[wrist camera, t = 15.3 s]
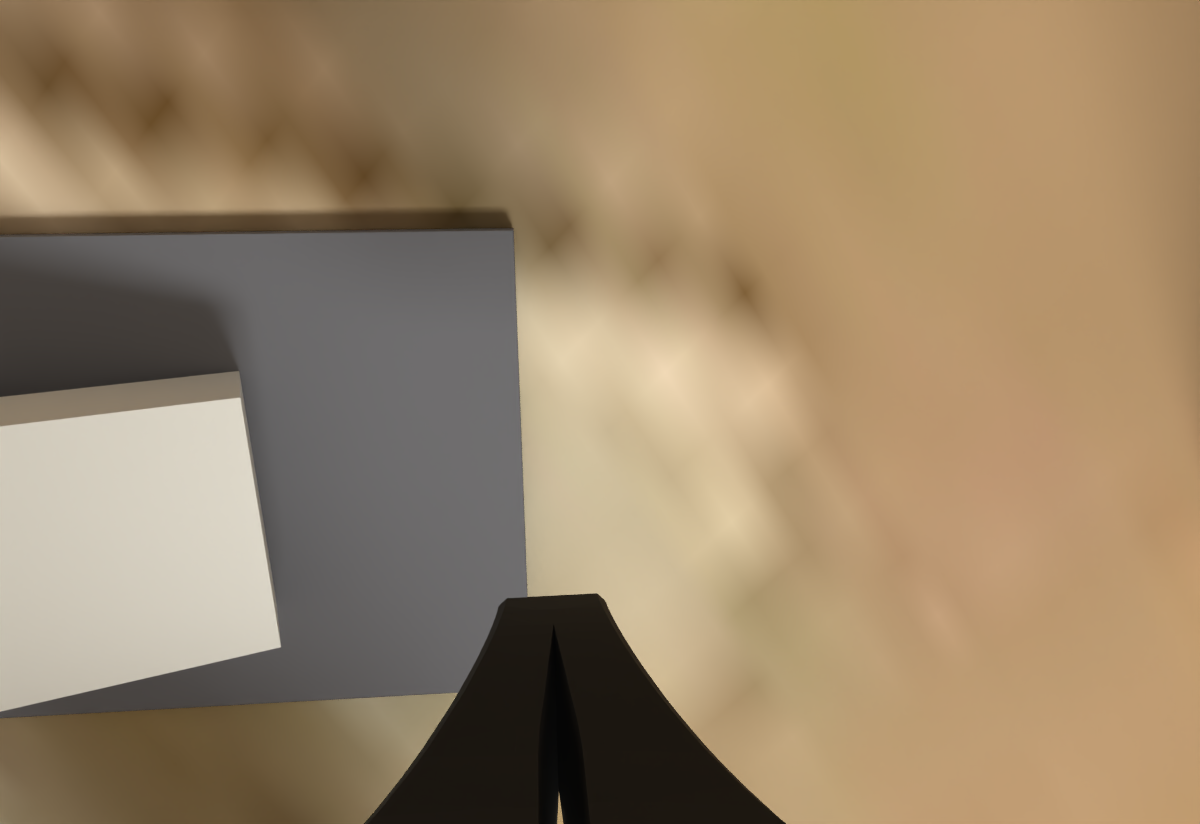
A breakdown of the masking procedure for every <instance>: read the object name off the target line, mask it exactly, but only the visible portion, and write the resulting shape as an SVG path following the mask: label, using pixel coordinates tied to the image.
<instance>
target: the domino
mask: <svg viewBox="0 0 1200 824" xmlns="http://www.w3.org/2000/svg"><path fill="white" fill-rule="evenodd" d="M280 647H281V642H280V632H279V622H278V612H277V603H276V596H275V590H274V584H273V578H272V572H271V565H270V559H269V553H268V547H267V541H266V535H265V528H264V522H263V516H262V510H261V504H260V497H259V491H258V485H257V479H256V473H255V466H254V460H253V454H252V448H251V442H250V435H249V429H248V423H247V417H246V411H245V405H244V398H243V392H242V386H241V380H240V374H239V371H234V372H224V373H215V374H206V375H197V376H188V377H179V378H170V379H160V380H151V381H142V382H133V383H124V384H115V385H106V386H96V387H87V388H78V389H69V390H60V391H51V392H42V393H32V394H23V395H14V396H5V397H0V712H1V711H5V710H10V709H14V708H18V707H23V706H27V705H31V704H36V703H40V702H44V701H49V700H53V699H58V698H62V697H66V696H71V695H75V694H79V693H84V692H88V691H92V690H97V689H101V688H105V687H110V686H114V685H118V684H123V683H127V682H132V681H136V680H140V679H145V678H149V677H153V676H158V675H162V674H166V673H171V672H175V671H179V670H184V669H188V668H193V667H197V666H201V665H206V664H210V663H214V662H219V661H223V660H227V659H232V658H236V657H240V656H245V655H249V654H253V653H258V652H262V651H267V650H271V649H275V648H280Z"/></svg>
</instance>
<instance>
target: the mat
mask: <svg viewBox="0 0 1200 824" xmlns="http://www.w3.org/2000/svg"><path fill="white" fill-rule="evenodd" d="M234 371H239V374H240V380H241V386H242V392H243V398H244V405H245V411H246V417H247V423H248V429H249V435H250V442H251V448H252V454H253V460H254V466H255V473H256V479H257V485H258V491H259V497H260V504H261V510H262V516H263V522H264V528H265V535H266V541H267V547H268V553H269V559H270V565H271V572H272V578H273V584H274V590H275V596H276V603H277V612H278V622H279V632H280V642H281V647H280V648H275V649H271V650H267V651H262V652H258V653H253V654H249V655H245V656H240V657H236V658H232V659H227V660H223V661H219V662H214V663H210V664H206V665H201V666H197V667H193V668H188V669H184V670H179V671H175V672H171V673H166V674H162V675H158V676H153V677H149V678H145V679H140V680H136V681H132V682H127V683H123V684H118V685H114V686H110V687H105V688H101V689H97V690H92V691H88V692H84V693H79V694H75V695H71V696H66V697H62V698H58V699H53V700H49V701H44V702H40V703H36V704H31V705H27V706H23V707H18V708H14V709H10V710H5V711H1V712H0V718H12V717H30V716H48V715H65V714H83V713H101V712H119V711H137V710H155V709H172V708H190V707H208V706H226V705H244V704H262V703H279V702H297V701H315V700H333V699H351V698H369V697H386V696H404V695H422V694H440V693H458V692H459V691H460V689H461V687H462V685H463V683H464V681H465V680H466V678H467V676H468V674H469V672H470V671H471V669H472V667H473V665H474V663H475V662H476V660H477V658H478V656H479V653H480V651H481V649H482V647H483V645H484V643H485V641H486V639H487V637H488V634H489V632H490V630H491V627H492V625H493V622H494V619H495V617H496V614H497V610H498V607H499V605H500V604H501V603H502V602H503V601H504V600H505V599H507V598H521V597H527V573H526V547H525V521H524V494H523V468H522V442H521V416H520V390H519V363H518V337H517V311H516V285H515V259H514V232H513V228H485V229H407V230H329V231H250V232H172V233H93V234H15V235H0V397H5V396H14V395H23V394H32V393H42V392H51V391H60V390H69V389H78V388H87V387H96V386H106V385H115V384H124V383H133V382H142V381H151V380H160V379H170V378H179V377H188V376H197V375H206V374H215V373H224V372H234Z"/></svg>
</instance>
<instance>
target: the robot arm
mask: <svg viewBox="0 0 1200 824" xmlns="http://www.w3.org/2000/svg"><path fill="white" fill-rule="evenodd" d="M559 794H560V802H561V809H562V816H563V823H564V824H786V823H785V822H783V821H782V820H781V819H780V818H779V817H777V816H776V815H775V814H774V813H773V812H772V811H771V810H770V809H769V808H768V807H767V806H765V805H764V804H763V803H762V802H761V801H760V800H759V799H758V798H757V797H756V796H755V795H754V794H752V793H751V792H750V791H749V790H748V789H747V788H746V787H745V786H744V785H743V784H742V783H741V782H740V781H739V780H738V779H737V778H736V777H735V776H734V775H733V774H732V773H731V772H730V771H729V770H728V769H727V768H726V767H725V766H724V765H723V764H722V763H721V762H720V761H719V760H718V759H717V758H716V757H715V756H714V754H713V753H712V752H711V751H710V750H709V749H708V748H707V747H706V746H705V745H704V743H703V742H702V741H701V740H700V739H699V738H698V737H697V736H696V734H695V733H694V732H693V731H692V730H691V728H690V727H689V726H688V725H687V724H686V722H685V721H684V720H683V719H682V718H681V716H680V715H679V714H678V713H677V712H676V710H675V709H674V708H673V707H672V705H671V704H670V703H669V701H668V700H667V699H666V698H665V696H664V695H663V694H662V692H661V691H660V690H659V688H658V687H657V685H656V684H655V683H654V681H653V680H652V678H651V677H650V676H649V674H648V673H647V672H646V670H645V669H644V667H643V666H642V665H641V663H640V662H639V660H638V659H637V657H636V656H635V654H634V653H633V651H632V649H631V648H630V646H629V645H628V643H627V641H626V640H625V638H624V637H623V635H622V633H621V631H620V630H619V628H618V626H617V624H616V623H615V621H614V619H613V617H612V615H611V613H610V611H609V609H608V607H607V604H606V602H605V600H604V599H603V598H601V597H600V596H599V595H598V594H578V595H559V596H540V597H521V598H507V599H505V600H504V601H503V602H502V603H501V604H500V605H499V607H498V610H497V614H496V617H495V619H494V622H493V625H492V627H491V630H490V632H489V634H488V637H487V639H486V641H485V643H484V645H483V647H482V649H481V651H480V653H479V656H478V658H477V660H476V662H475V663H474V665H473V667H472V669H471V671H470V672H469V674H468V676H467V678H466V680H465V681H464V683H463V685H462V687H461V689H460V691H459V692H458V694H457V696H456V698H455V699H454V701H453V703H452V704H451V706H450V708H449V709H448V711H447V712H446V714H445V715H444V717H443V718H442V720H441V721H440V723H439V724H438V726H437V728H436V729H435V731H434V732H433V734H432V735H431V737H430V738H429V740H428V741H427V743H426V744H425V746H424V747H423V749H422V750H421V752H420V753H419V755H418V756H417V757H416V759H415V760H414V761H413V763H412V764H411V766H410V767H409V768H408V770H407V771H406V772H405V774H404V775H403V776H402V778H401V779H400V780H399V782H398V783H397V784H396V786H395V787H394V788H393V789H392V791H391V792H390V793H389V794H388V796H387V797H386V798H385V799H384V801H383V802H382V803H381V804H380V806H379V807H378V808H377V809H376V810H375V812H374V813H373V814H372V815H371V816H370V817H369V819H368V820H367V821H366V822H365V823H364V824H557V815H558V796H559Z"/></svg>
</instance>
